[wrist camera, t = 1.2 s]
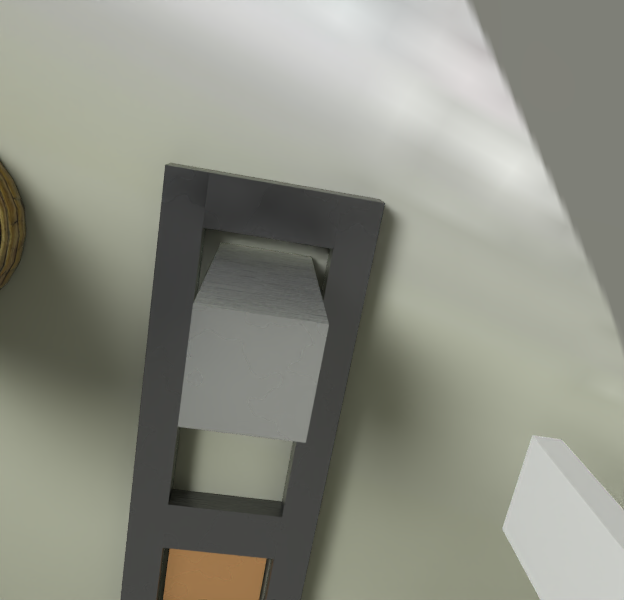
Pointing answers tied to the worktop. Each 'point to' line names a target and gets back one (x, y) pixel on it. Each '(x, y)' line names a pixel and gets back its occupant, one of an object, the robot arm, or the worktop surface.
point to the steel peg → (254, 345)
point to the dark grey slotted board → (169, 382)
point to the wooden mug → (10, 226)
